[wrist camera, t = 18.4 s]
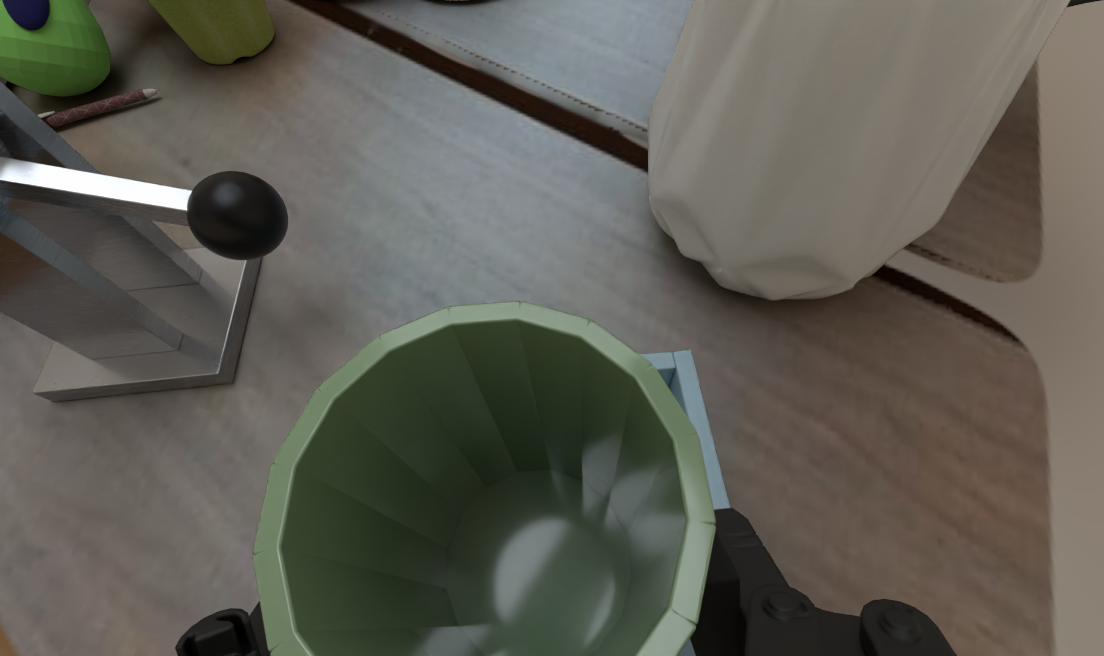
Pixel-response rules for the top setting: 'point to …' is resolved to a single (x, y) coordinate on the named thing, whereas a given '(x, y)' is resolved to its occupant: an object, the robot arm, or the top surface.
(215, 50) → the plant pot
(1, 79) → the teapot
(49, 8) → the toy
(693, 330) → the top surface
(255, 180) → the tap lever
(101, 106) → the pen
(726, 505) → the tray
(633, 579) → the cup
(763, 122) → the vase
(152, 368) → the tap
